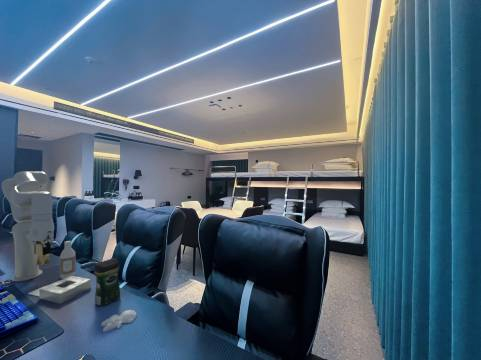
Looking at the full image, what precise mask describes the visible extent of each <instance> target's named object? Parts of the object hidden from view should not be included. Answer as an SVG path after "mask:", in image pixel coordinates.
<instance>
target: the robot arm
mask: <svg viewBox="0 0 481 360" xmlns="http://www.w3.org/2000/svg"><path fill="white" fill-rule="evenodd" d="M48 183H49V176H48V174H47V173H46V172H44V171H35V170H34V171H33V170H32V171H31V170H30V171H28V170H26V171H25V170H24V171H19V172H16V173H14V175H13V177H12V178H11V177H10V178H7V179H4V180H3V181H2V182H1V190H2V194H3V195H4V197H5V198H6V200H7V201H8V202H9V205H10V211H11V214H12V218H13V220H14V221H15V222H16V223H15V224H14V225H13V226H12V227H11V234H12V237H13V242H14V270H13V272H14V274H15V275H13V276H12V277H11V279H10V280H12V281H11V282H14V281H15V282H16V283H17V282H24V281H28V280H29V281H30V280H32V279H36V278H38V277H40V276H42V275H43V270H41V269H40V267H39V266H40V265H36V243H40V242H43V246H44V247H42V250H43V255H46V254H51V253H52V244H53V243H54V241H55V239H54V235H55V234H54V231H55V224H54V219H53V195H52V193H51V192H49V191H46V190H43V189H44V188H45V187H46V186H47V185H48ZM46 242H47V243H46Z"/></svg>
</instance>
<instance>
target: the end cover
mask: <svg viewBox="0 0 481 360" xmlns="http://www.w3.org/2000/svg"><path fill="white" fill-rule="evenodd" d="M45 242H46V243H47V242H48V241H45ZM42 247H44V246H43V241H42V242H40V243H36V265H39V266H43V265H46V264H50V260H51V259H50V254H51V253H50V254H46V255H43V250H42Z"/></svg>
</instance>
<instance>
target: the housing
mask: <svg viewBox="0 0 481 360" xmlns="http://www.w3.org/2000/svg"><path fill="white" fill-rule="evenodd" d="M91 280H92V279H91V278H85V277H80V276H76V275H75V276H69V277H67V278H64V279H62V278H61V279H60V280H57V281H56V282H53V283H51V284H48V286H46V285H45V286H46V287H44V286H42V287H43V288H42V287H40V288H41V289H39V288H38V289H39V295H40V297H39V300H44V301H48V302H53V303H56V304H60V305H61V304H63V303H66V302H67V301H69V300H71V299H73V298H75V297H76V296H78V295H80V294H83V293H84V292H86V291H88V290H90V289H91V288H92V281H91Z"/></svg>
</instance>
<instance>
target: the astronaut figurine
mask: <svg viewBox="0 0 481 360" xmlns="http://www.w3.org/2000/svg"><path fill="white" fill-rule="evenodd" d="M136 318H137V312H136V311H135V310H133V309H128V310H127V309H126V310H124V311H122V313H120V315H119V314H116V313H115V314H113V315H111V316H110V317H109V318H106V319H105V320H103V321H102V322H101V327H103V329H102V331H103V333H104V332H107V331H110V330H113V329H115V328H117V329H120V328H121V327H122V325H123V324H127V323H128V324H131V323H133V322H134V321H135V319H136Z"/></svg>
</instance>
